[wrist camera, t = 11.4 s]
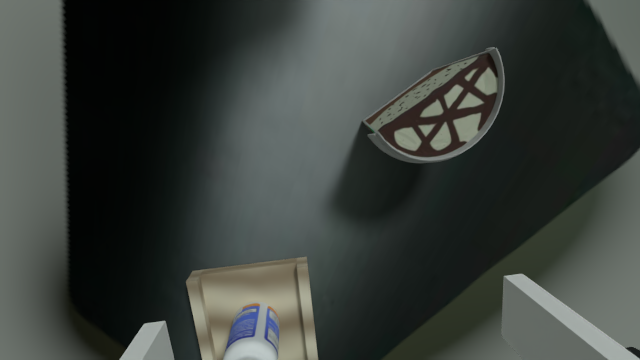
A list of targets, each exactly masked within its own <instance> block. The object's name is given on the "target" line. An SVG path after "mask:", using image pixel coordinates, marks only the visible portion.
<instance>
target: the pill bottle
mask: <svg viewBox="0 0 640 360" xmlns="http://www.w3.org/2000/svg"><path fill="white" fill-rule="evenodd" d="M279 329H280V320H279V316H278V313H277V312H276V310H275V309H274V308H273V307H272V306H270V305H269V304H267V303H264V302H257V301H256V302H250V303H247V304H245V305H244V306H242V307H241V308H240V309H239V310H238V311H237V313H236V315H235V317H234V320H233V324H232V327H231V331H230V335H229V339H228V342H227V346H226V350H225V353H224V358H223V360H278V350H279Z"/></svg>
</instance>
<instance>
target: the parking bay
mask: <svg viewBox="0 0 640 360" xmlns="http://www.w3.org/2000/svg"><path fill="white" fill-rule="evenodd" d="M186 284H187V289H188V294H189V298H190V303H191V308H192V313H193V318H194V322H195V327H196V332H197V337H198V342H199V346H200V351H201V356H202V360H223V358H224V353H225V350H226V346H227V342H228V339H229V335H230V331H231V327H232V324H233V320H234V317H235V315H236V313H237V311H238V310H239V309H240V308H241V307H242V306H244V305H245V304H247V303H250V302H256V301H257V302H264V303H267V304H269V305H270V306H272V307H273V308H274V309H275V310H276V312H277V313H278V316H279V320H280V329H279V350H278V360H318V354H317V345H316V336H315V327H314V318H313V310H312V301H311V292H310V283H309V274H308V265H307V257H301V258H293V259H285V260H277V261H269V262H261V263H253V264H245V265H237V266H229V267H221V268H212V269H204V270H196V271H192V273H191V274H190V276H189V278H188V279H187V281H186Z"/></svg>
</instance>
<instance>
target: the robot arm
mask: <svg viewBox="0 0 640 360" xmlns="http://www.w3.org/2000/svg"><path fill="white" fill-rule="evenodd" d="M503 284H504V285H503V310H502V332H501V336H502V337H503V338H504V339H505V341H506V342H507V343H508V344H509V345H510V346H511V347H512V348H513V349H514V350H515V351H516V352H517V354H518V355H519V356H520V357H521V358H522V359H523V360H640V350H638V349H636V348H634V347H629V348H624V347H623V346H621V345H620V344H618V343H617V342H616V341H614V340H613V339H612V338H610V337H609V336H607V335H606V334H605V333H603V332H602V331H601V330H599V329H598V328H597V327H595V326H594V325H592V324H591V323H589V322H588V321H587V320H585V319H584V318H583V317H581V316H580V315H579V314H577V313H576V312H574V311H573V310H572V309H570V308H569V307H568V306H566V305H565V304H563V303H562V302H561V301H559V300H558V299H556V298H555V297H554V296H552V295H551V294H550V293H548V292H547V291H545V290H544V289H543V288H541V287H540V286H539V285H537V284H536V283H534V282H533V281H532V280H530V279H529V278H527V277H526V276H525V275H523V274H516V275H509V276H504V283H503ZM120 360H174V356H173V352H172V347H171V343H170V339H169V335H168V330H167V326H166V322H165V321H161V322H153V323H146V324H144V325H143V326H142V328H141V329H140V331H139V332H138V333H137V335H136V336H135V338H134V339H133V341H132V342H131V344H130V345H129V347H128V348H127V349H126V351H125V352H124V354H123V355H122V357H121V358H120Z"/></svg>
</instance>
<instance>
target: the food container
mask: <svg viewBox="0 0 640 360" xmlns="http://www.w3.org/2000/svg"><path fill="white" fill-rule="evenodd" d="M504 81H505V79H504V68H503V64H502V60H501V57H500V54H499V52H498V49H497V48H495V47H492V48H487V49H486V51H485V52H482V53H479V54H476V55H473V56H470V57H467V58H465V59H462V60H459V61H456V62H453V63H450V64H447V65H444V66H442V67H439V68H436V69H433V70H431V71H430V72H429V73H427V74H426V75H424V76H423V77H422V78H420V79H419V80H418V81H416V82H415V83H413V84H412V85H411V86H409V87H408V88H407V89H405V90H404V91H403V92H401V93H400V94H398V95H397V96H396V97H394V98H393V99H392V100H390V101H389V102H387V103H386V104H385V105H383V106H382V107H381V108H379V109H378V110H376V111H375V112H374V113H372V114H371V115H370V116H368V117H367V118H365V119H364V120H363V121H362V122H363V123H364V124H365V125H366V127H367V128H368V129H369V130H370V131H371V132H372V133H374V134H368V135H367V136H368V137H369V138H370V139H371V141H372V142H373V143H374V144H375V145H376V146H377V147H378V148H380V149H381V150H382V151H383V152H385V153H387V154H388V155H390V156H392V157H394V158H396V159H399V160H401V161H406V162H410V163H432V162H440V161H444V160H448V159H450V158H453V157H455V156H458V155H459V154H461V153H463V152H464V151H466V150H468V149H469V148H470V147H472V146H473V145H474V144H475V143H477V142H478V141H479V140H480V139H481V138H482V137H483V136H484V134H485V133H486V132H487V131H488V129H489V128H490V127H491V125H492V124H493V122H494V120H495V118H496V116H497V114H498V112H499V109H500V106H501V103H502V98H503V93H504Z"/></svg>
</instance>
